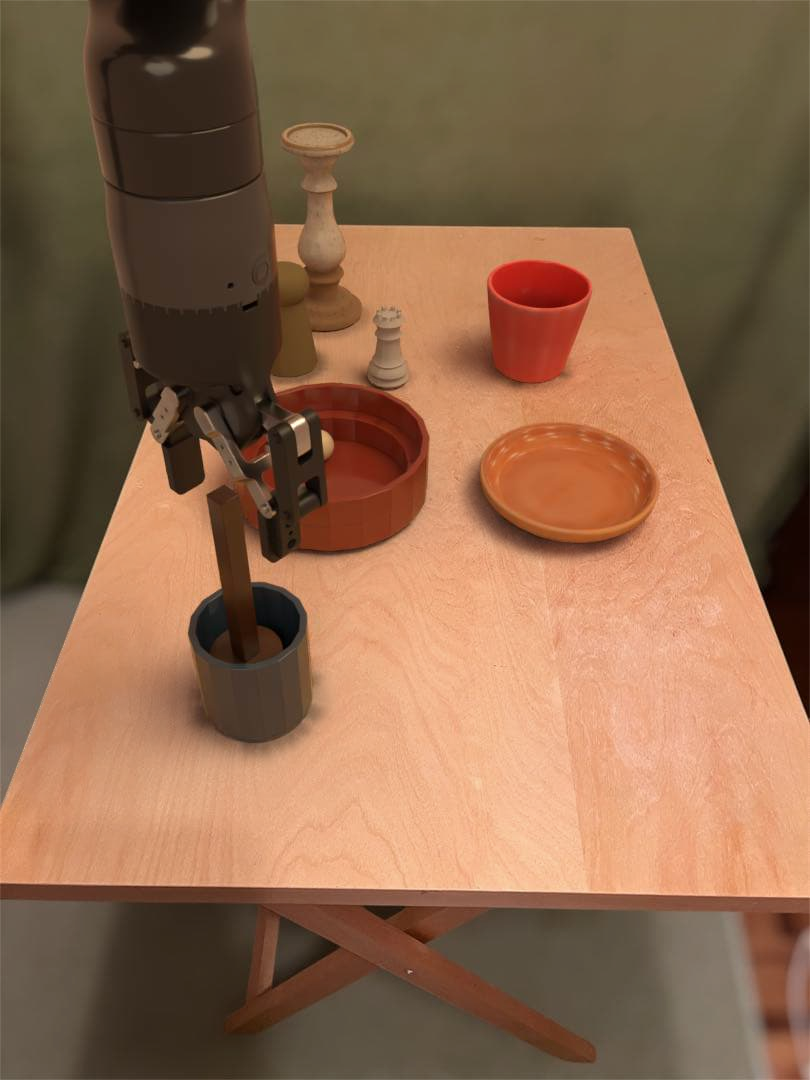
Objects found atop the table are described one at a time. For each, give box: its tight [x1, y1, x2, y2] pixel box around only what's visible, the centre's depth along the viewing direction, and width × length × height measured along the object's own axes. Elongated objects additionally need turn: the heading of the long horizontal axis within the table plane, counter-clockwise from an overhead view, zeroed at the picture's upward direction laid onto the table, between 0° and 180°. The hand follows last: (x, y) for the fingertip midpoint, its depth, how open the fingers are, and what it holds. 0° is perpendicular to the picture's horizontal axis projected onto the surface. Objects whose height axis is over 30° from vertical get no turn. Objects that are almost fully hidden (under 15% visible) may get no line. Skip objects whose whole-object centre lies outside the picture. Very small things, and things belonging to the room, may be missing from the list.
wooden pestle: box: [205, 483, 283, 664], centre depth 59 cm, size 5×5×19 cm
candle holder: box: [279, 122, 363, 332], centre depth 100 cm, size 9×9×20 cm
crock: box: [187, 581, 314, 743], centre depth 63 cm, size 8×8×8 cm
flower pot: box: [486, 259, 593, 384], centre depth 97 cm, size 11×11×10 cm
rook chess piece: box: [367, 305, 410, 390], centre depth 94 cm, size 4×4×8 cm
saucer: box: [479, 421, 661, 544], centre depth 82 cm, size 16×16×3 cm
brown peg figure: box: [270, 260, 318, 378], centre depth 96 cm, size 6×6×11 cm
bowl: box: [233, 382, 431, 552], centre depth 81 cm, size 17×17×6 cm
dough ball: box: [321, 430, 334, 460], centre depth 85 cm, size 3×3×3 cm
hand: (233, 519), depth 54 cm, fingers open, 8 cm apart
